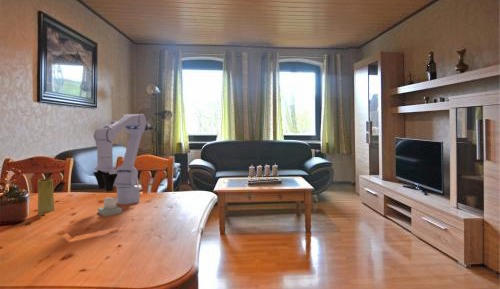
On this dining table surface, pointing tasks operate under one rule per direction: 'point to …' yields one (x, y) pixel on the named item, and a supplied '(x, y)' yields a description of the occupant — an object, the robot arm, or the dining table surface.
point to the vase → (45, 196)
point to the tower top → (109, 211)
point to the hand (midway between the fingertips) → (105, 189)
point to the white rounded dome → (110, 203)
